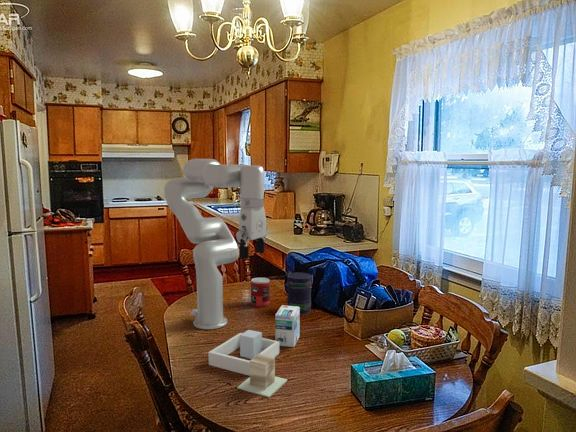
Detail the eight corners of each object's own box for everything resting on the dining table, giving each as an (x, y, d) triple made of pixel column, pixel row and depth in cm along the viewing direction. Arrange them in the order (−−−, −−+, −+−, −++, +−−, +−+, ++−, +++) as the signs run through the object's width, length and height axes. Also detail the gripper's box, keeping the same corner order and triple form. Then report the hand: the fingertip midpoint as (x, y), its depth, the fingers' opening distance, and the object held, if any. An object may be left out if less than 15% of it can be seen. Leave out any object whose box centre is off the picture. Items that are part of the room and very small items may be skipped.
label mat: (237, 388, 120) (237, 386, 120) (256, 372, 129) (256, 371, 129) (269, 397, 115) (269, 396, 115) (287, 380, 124) (287, 379, 124)
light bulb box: (294, 347, 146) (294, 316, 145) (274, 346, 147) (274, 314, 146) (300, 335, 156) (300, 305, 155) (281, 333, 158) (281, 304, 156)
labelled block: (265, 389, 118) (265, 364, 118) (249, 384, 121) (249, 360, 120) (274, 381, 123) (274, 357, 122) (258, 377, 125) (258, 353, 124)
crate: (208, 364, 134) (208, 352, 133) (240, 344, 148) (240, 332, 148) (250, 376, 127) (250, 362, 126) (279, 353, 142) (279, 341, 141)
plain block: (240, 356, 140) (239, 335, 139) (248, 350, 144) (248, 329, 143) (253, 359, 137) (253, 338, 136) (261, 353, 142) (261, 332, 141)
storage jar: (315, 309, 184) (315, 274, 182) (303, 316, 175) (303, 279, 173) (294, 305, 189) (295, 271, 187) (282, 311, 181) (282, 276, 179)
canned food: (250, 302, 193) (250, 277, 192) (269, 301, 194) (269, 277, 192) (251, 307, 185) (250, 282, 184) (270, 307, 186) (270, 282, 185)
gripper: (247, 206, 134) (247, 262, 136) (275, 202, 149) (275, 251, 151) (226, 205, 137) (227, 259, 139) (256, 201, 153) (256, 249, 155)
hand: (252, 255), depth 145 cm, fingers open, 9 cm apart
